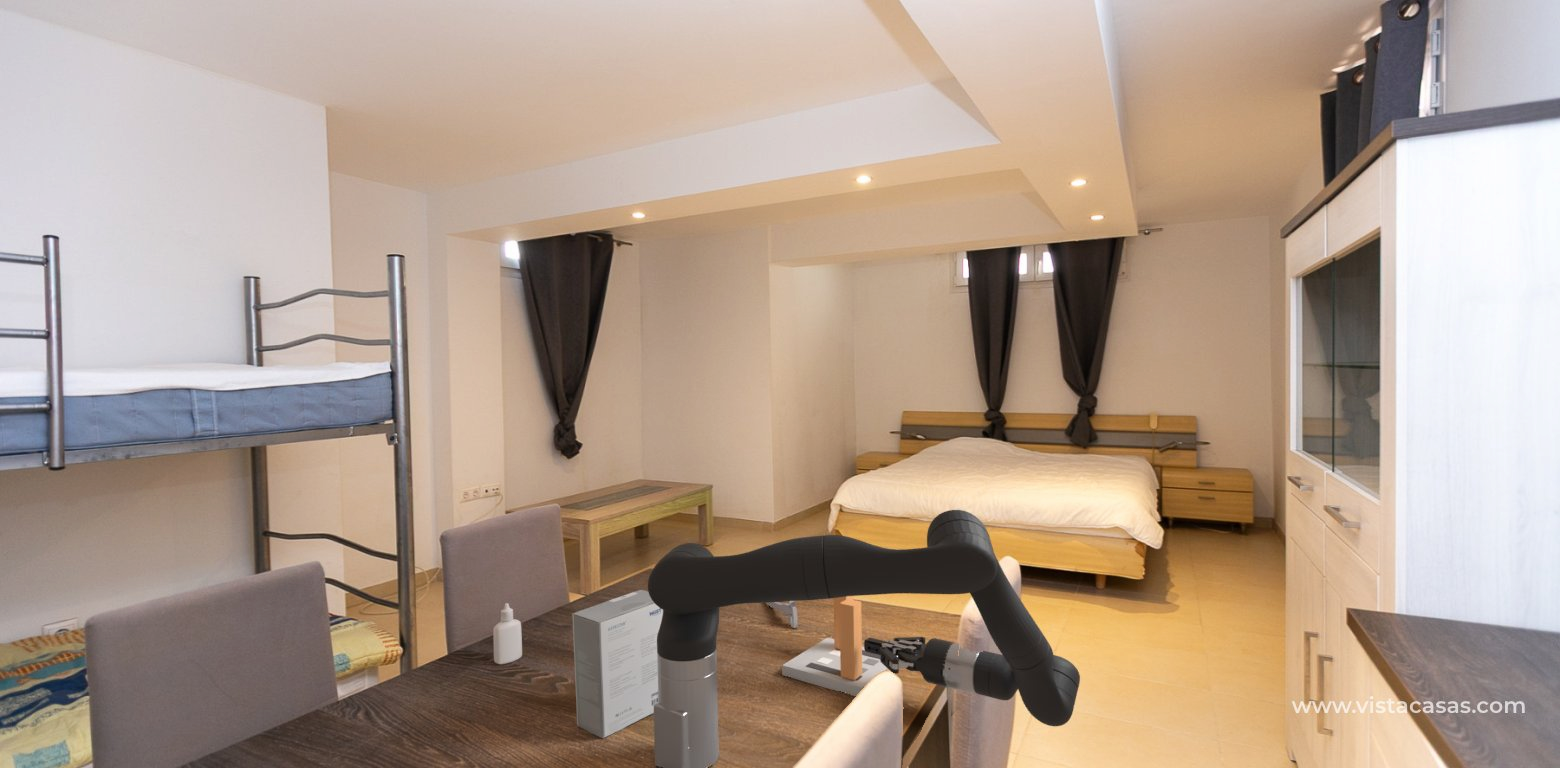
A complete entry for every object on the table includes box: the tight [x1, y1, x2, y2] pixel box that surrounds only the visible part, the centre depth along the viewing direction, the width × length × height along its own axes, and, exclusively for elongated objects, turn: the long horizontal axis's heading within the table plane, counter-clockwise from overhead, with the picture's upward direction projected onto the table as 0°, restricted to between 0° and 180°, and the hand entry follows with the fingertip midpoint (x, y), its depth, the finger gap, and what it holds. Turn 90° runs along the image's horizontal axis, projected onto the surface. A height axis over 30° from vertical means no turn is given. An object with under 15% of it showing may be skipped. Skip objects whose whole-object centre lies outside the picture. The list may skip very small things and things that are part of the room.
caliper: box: [765, 601, 799, 629], centre depth 177 cm, size 20×1×6 cm, turn 21°
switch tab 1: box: [833, 596, 854, 649], centre depth 150 cm, size 3×3×14 cm
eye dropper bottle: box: [492, 602, 523, 665], centre depth 152 cm, size 4×6×12 cm
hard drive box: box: [572, 589, 663, 739], centre depth 127 cm, size 16×8×20 cm, turn 141°
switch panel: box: [781, 637, 889, 697], centre depth 144 cm, size 17×18×2 cm
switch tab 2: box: [840, 599, 863, 680], centre depth 137 cm, size 3×3×14 cm
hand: (866, 644), depth 135 cm, fingers closed
